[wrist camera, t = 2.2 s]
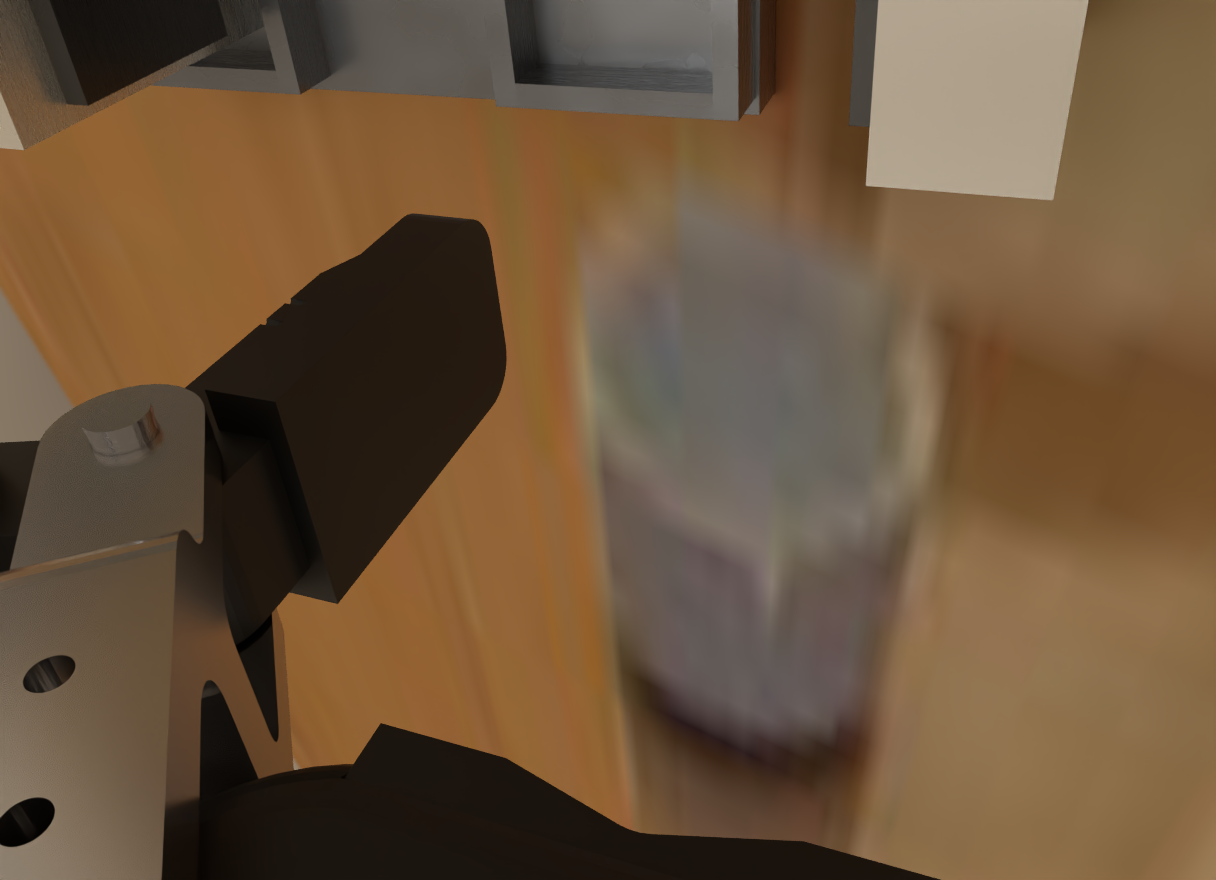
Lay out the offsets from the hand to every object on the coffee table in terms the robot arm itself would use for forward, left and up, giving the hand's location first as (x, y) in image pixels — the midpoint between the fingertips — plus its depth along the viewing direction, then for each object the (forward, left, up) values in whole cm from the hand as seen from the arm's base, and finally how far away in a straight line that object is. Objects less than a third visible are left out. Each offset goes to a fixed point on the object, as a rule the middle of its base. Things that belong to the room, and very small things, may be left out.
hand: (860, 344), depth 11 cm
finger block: (0, 0, -18) cm, 18 cm away
